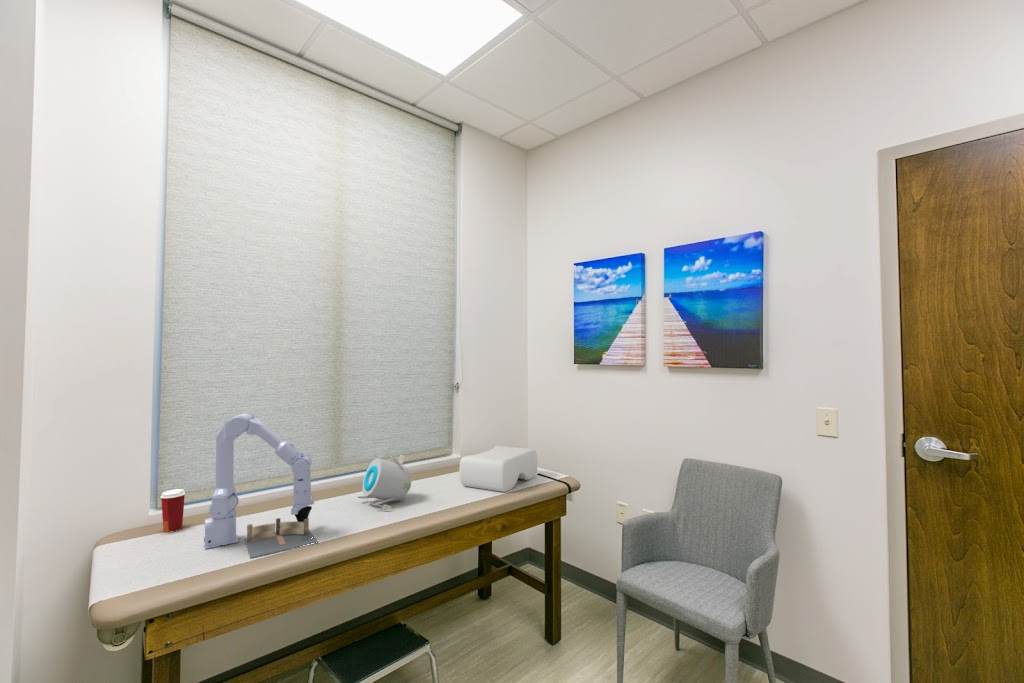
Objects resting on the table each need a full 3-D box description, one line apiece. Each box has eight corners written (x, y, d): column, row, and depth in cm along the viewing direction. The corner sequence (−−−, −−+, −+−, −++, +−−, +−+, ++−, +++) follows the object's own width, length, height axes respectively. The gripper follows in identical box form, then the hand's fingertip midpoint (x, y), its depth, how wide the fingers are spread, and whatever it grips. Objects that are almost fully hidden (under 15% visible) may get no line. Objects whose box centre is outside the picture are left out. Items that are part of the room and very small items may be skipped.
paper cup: (189, 525, 175) (189, 488, 176) (178, 532, 168) (178, 493, 168) (166, 526, 174) (167, 489, 175) (154, 534, 167) (155, 495, 167)
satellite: (428, 462, 199) (403, 457, 219) (387, 450, 189) (365, 446, 208) (411, 516, 192) (387, 506, 211) (368, 507, 181) (347, 497, 201)
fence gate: (275, 534, 162) (275, 519, 162) (277, 532, 163) (277, 518, 164) (307, 534, 162) (307, 519, 162) (309, 532, 163) (309, 517, 163)
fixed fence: (247, 542, 156) (247, 526, 157) (246, 540, 158) (246, 524, 158) (275, 536, 161) (275, 520, 161) (274, 534, 163) (274, 519, 163)
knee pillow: (503, 494, 207) (502, 462, 208) (458, 488, 220) (458, 457, 220) (538, 476, 238) (537, 448, 238) (497, 471, 250) (496, 444, 251)
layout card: (250, 558, 144) (250, 557, 144) (244, 539, 160) (244, 538, 160) (318, 543, 156) (318, 541, 156) (306, 526, 171) (306, 525, 171)
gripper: (305, 495, 158) (306, 535, 157) (320, 484, 172) (321, 520, 172) (284, 496, 157) (284, 536, 157) (301, 484, 172) (301, 521, 171)
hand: (302, 528), depth 164 cm, fingers closed
